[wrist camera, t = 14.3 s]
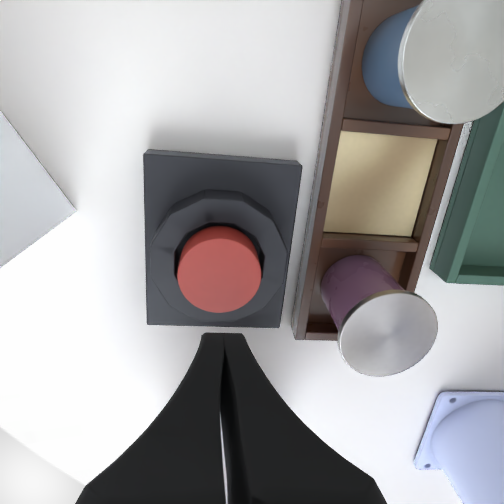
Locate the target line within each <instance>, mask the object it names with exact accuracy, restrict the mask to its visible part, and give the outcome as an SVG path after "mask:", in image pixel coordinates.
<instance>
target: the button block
mask: <svg viewBox="0 0 504 504" xmlns="http://www.w3.org/2000/svg"><path fill="white" fill-rule="evenodd" d="M143 162H144V210H145V258H146V306H147V325H176V326H215V327H254V328H279V327H280V321H281V314H282V307H283V300H284V293H285V286H286V279H287V272H288V265H289V258H290V251H291V244H292V237H293V230H294V223H295V216H296V209H297V201H298V194H299V187H300V180H301V173H302V165H301V164H300V163H299V162H298V161H293V160H280V159H267V158H254V157H241V156H228V155H215V154H202V153H189V152H177V151H164V150H151V149H149V150H147V151H146V152H145V153H144V155H143ZM212 226H227V227H231V228H234V229H237V230H239V231H240V232H242V233H243V234H245V235H246V236H247V237H248V238H249V239H250V240H251V241H252V243H253V244H254V246H255V249H256V251H257V255H258V259H259V263H260V267H261V282H260V286H259V288H258V290H257V292H256V294H255V295H254V297H253V298H252V299H251V300H250V301H249V302H248V303H247V304H245V305H244V306H242V307H240V308H238V309H236V310H233V311H229V312H223V313H215V312H208V311H205V310H202V309H200V308H198V307H196V306H194V305H193V304H192V303H190V302H189V301H188V300H187V299H186V298H185V296H184V295H183V293H182V292H181V290H180V287H179V284H178V277H177V274H178V267H179V262H180V257H181V253H182V250H183V247H184V245H185V244H186V242H187V241H188V240H189V238H191V237H192V236H193V235H194V234H195V233H197V232H198V231H200V230H202V229H205V228H208V227H212Z"/></svg>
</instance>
